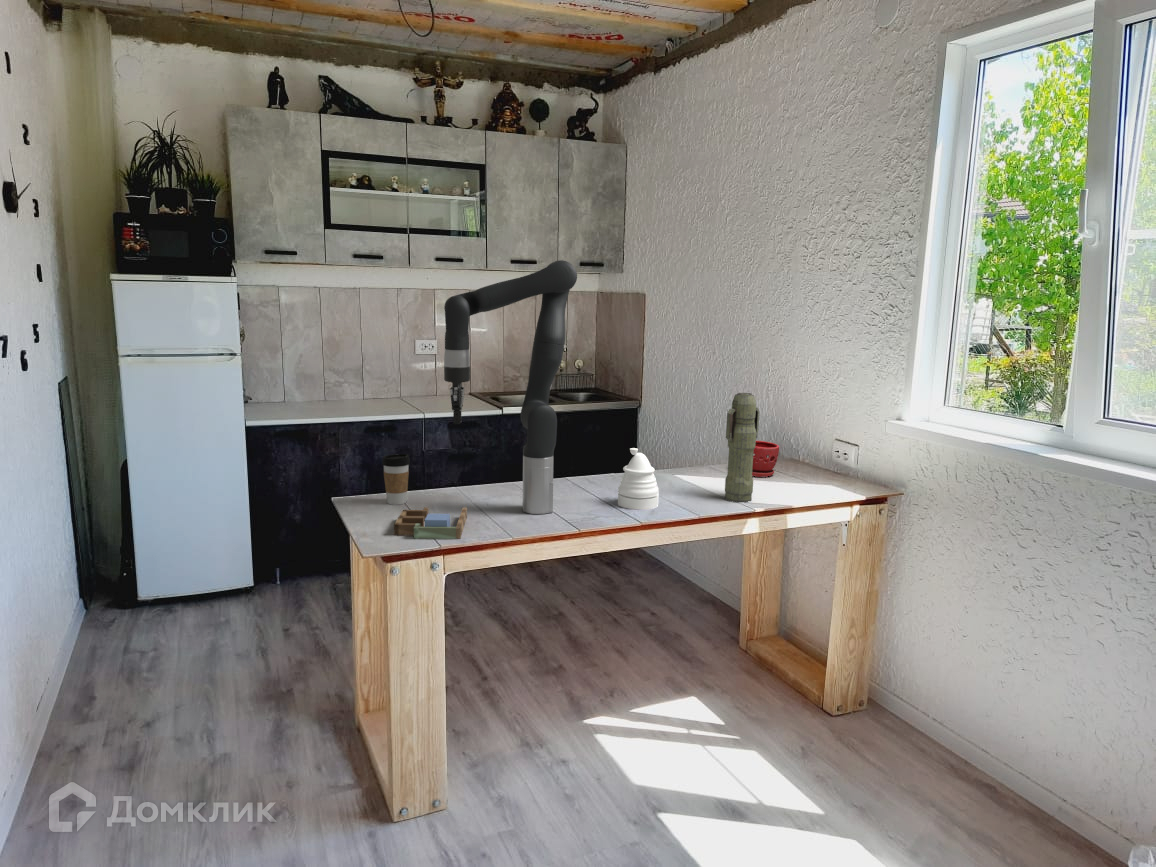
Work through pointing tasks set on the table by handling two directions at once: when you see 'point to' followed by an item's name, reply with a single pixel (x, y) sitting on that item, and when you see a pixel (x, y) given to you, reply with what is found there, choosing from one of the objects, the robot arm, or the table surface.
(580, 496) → the table surface
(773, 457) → the plant pot
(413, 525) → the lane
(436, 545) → the table surface
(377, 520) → the table surface
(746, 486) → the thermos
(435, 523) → the block
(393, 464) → the coffee cup
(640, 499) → the honey pot
